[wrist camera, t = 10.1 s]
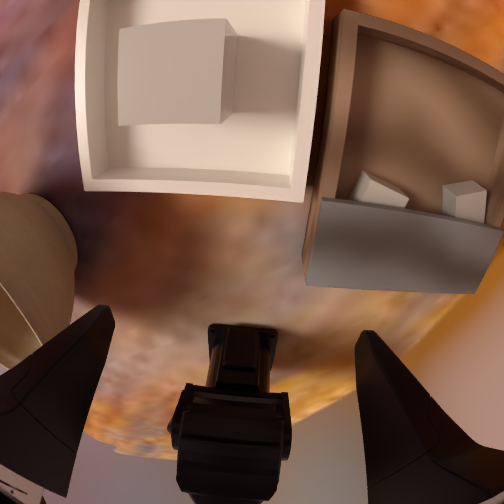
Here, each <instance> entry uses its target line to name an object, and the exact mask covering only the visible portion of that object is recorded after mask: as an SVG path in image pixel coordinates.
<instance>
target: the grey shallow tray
mask: <svg viewBox="0 0 504 504" xmlns="http://www.w3.org/2000/svg"><path fill="white" fill-rule="evenodd" d="M362 170H364V171H366V172H368V173H370V174H372V175H374V176H376V177H379V178H381V179H383V180H385V181H387V182H389V183H391V184H393V185H395V186H396V187H398V188H399V189H400V190H401V191H402V192H403V193H404V194H405V195H406V196H407V197H408V198H409V200H408V202H407V204H406V206H405V208H398V207H392V206H385V205H379V204H372V203H365V202H358V201H351V200H347V199H348V197H349V195H350V193H351V191H352V189H353V187H354V185H355V183H356V181H357V179H358V177H359V175H360V173H361V171H362ZM470 180H473V181H474V182H476V183H477V184H479V185H480V186H481V187H483V188H484V189H486V190H487V196H486V209H485V218H484V224H482V223H477V222H473V221H468V220H463V219H458V218H453V217H448V216H443V215H442V208H443V185H448V184H453V183H459V182H465V181H470ZM503 218H504V74H503V73H502V72H500V71H498V70H497V69H495V68H494V67H492V66H490V65H488V64H487V63H485V62H483V61H481V60H480V59H478V58H476V57H474V56H472V55H470V54H468V53H467V52H465V51H463V50H461V49H459V48H457V47H454V46H452V45H450V44H448V43H446V42H444V41H441V40H439V39H437V38H434V37H432V36H430V35H427V34H425V33H422V32H420V31H417V30H414V29H412V28H409V27H406V26H403V25H400V24H397V23H394V22H391V21H388V20H385V19H382V18H378V17H375V16H371V15H367V14H364V13H360V12H356V11H351V10H347V9H343V10H342V11H341V12H340V13H339V14H338V15H337V16H336V17H335V18H333V21H332V34H331V47H330V58H329V68H328V78H327V88H326V97H325V105H324V114H323V122H322V130H321V137H320V145H319V152H318V159H317V166H316V172H315V179H314V186H313V192H312V198H311V204H310V210H309V216H308V222H307V228H306V234H305V239H304V245H303V250H302V262H303V269H304V276H305V283H306V286H319V287H333V288H349V289H366V290H384V291H405V292H429V293H458V294H475V292H476V290H477V288H478V286H479V284H480V282H481V281H482V279H483V277H484V275H485V273H486V271H487V269H488V267H489V265H490V263H491V260H492V258H493V256H494V254H495V252H496V249H497V247H498V245H499V243H500V240H501V238H502V235H503V233H504V231H503V230H502V229H501V228H500V226H501V224H502V221H503Z"/></svg>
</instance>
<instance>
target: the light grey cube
mask: <svg viewBox="0 0 504 504" xmlns="http://www.w3.org/2000/svg"><path fill="white" fill-rule="evenodd" d="M237 46H238V34H237V33H236V31H235V30H234V29H233V27H232V26H231V24H230V23H229V22H228V20H227V19H226V18H215V19H192V20H179V21H169V22H160V23H153V24H146V25H139V26H134V27H128V28H123V29H120V30H119V46H118V79H117V94H118V126H127V125H145V124H221V123H222V122H223V121H224V120H225V119H227V118H228V117H229V116H230V115H231V114H233V109H234V91H235V75H236V60H237Z"/></svg>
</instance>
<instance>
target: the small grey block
mask: <svg viewBox="0 0 504 504" xmlns="http://www.w3.org/2000/svg"><path fill="white" fill-rule="evenodd" d="M486 196H487V190H486V189H484V188H483V187H481V186H480V185H479V184H477V183H476V182H474V181H473V180H470V181H465V182H459V183H453V184H448V185H443V208H442V215H443V216H448V217H453V218H458V219H463V220H468V221H473V222H477V223H482V224H484V218H485V209H486Z"/></svg>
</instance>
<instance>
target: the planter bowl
mask: <svg viewBox="0 0 504 504" xmlns="http://www.w3.org/2000/svg"><path fill="white" fill-rule="evenodd" d="M77 260H78V253H77V246H76V242H75V239H74V236H73V233H72V231H71V229H70V227H69V225H68V223H67V222H66V220H65V219H64V217H63V216H62V214H61V213H60V212H59V211H58V210H57V209H56V208H55V206H53V205H52V204H51V203H50V202H49V201H47V200H46V199H44V198H42V197H40V196H38V195H35V194H22V195H17V194H13V193H8V192H0V364H1V365H2V366H3V367H5V368H6V369H8V370H10V369H11V368H13V367H14V366H16V365H17V364H18V363H20V362H21V361H22V360H24V359H25V358H26V357H28V356H29V355H30V354H32V353H33V352H34V351H36V350H37V349H38V348H40V347H41V346H42V345H44V344H45V343H46V342H48V341H49V340H50V339H52V338H53V337H54V336H56V335H57V334H58V333H60V332H61V331H62V330H64V329H65V328H67V327H68V326H69V325H70V321H71V316H72V311H73V304H74V292H75V277H74V271H75V269H76V266H77Z"/></svg>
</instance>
